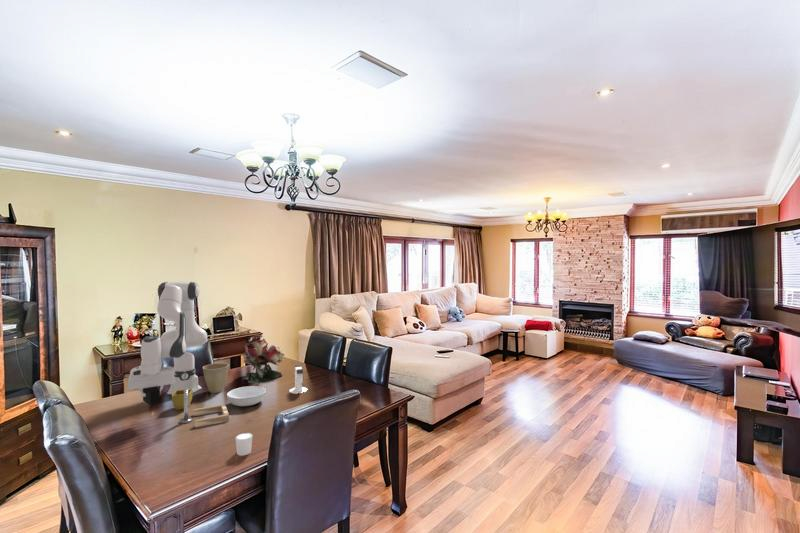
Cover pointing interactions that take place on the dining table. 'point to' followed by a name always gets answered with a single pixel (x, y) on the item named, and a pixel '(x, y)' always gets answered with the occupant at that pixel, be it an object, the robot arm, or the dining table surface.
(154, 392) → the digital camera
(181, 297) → the robot arm
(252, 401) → the serving bowl
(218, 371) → the plant pot
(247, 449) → the shot glass
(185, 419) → the hook post
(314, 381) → the dining table surface
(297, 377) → the white post stand
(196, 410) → the wooden frame
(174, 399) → the flower pot
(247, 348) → the rose bouquet
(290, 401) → the dining table surface
